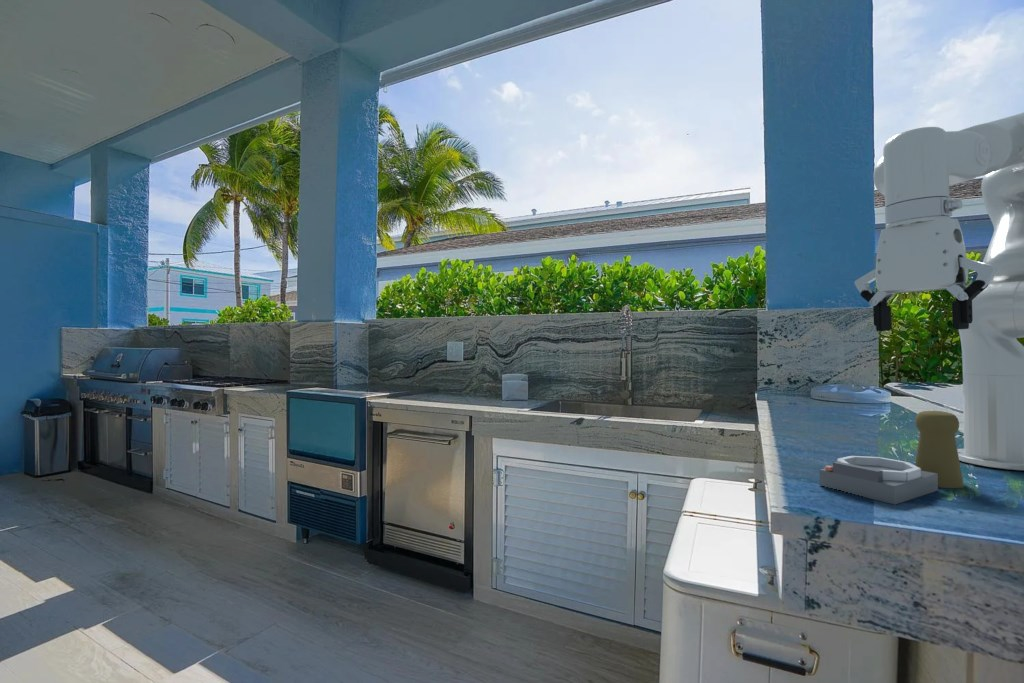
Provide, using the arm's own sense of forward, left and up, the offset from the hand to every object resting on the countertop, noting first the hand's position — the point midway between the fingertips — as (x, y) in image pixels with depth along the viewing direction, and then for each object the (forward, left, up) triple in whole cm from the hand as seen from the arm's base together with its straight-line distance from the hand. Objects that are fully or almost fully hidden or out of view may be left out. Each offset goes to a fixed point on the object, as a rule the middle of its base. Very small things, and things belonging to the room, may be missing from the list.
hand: (920, 330), depth 74 cm
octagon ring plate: (+6, -3, -24) cm, 25 cm away
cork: (-5, 0, -24) cm, 24 cm away
